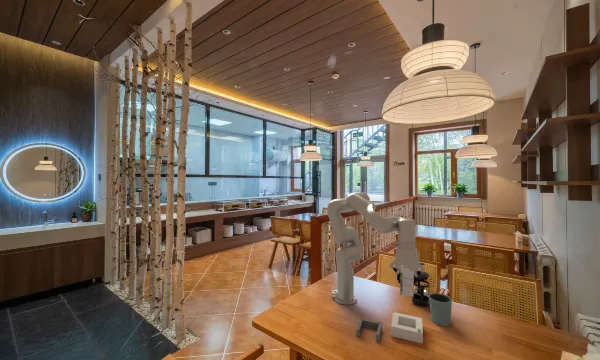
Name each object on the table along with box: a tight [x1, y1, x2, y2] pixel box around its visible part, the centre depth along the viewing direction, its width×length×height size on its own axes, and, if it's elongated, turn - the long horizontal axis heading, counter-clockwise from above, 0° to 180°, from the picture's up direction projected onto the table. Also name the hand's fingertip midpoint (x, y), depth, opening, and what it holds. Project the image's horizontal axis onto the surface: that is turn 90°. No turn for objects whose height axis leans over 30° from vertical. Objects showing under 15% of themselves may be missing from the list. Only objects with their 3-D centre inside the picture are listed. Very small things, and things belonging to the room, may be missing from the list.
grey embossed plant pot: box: [429, 292, 453, 327], centre depth 125 cm, size 10×10×12 cm
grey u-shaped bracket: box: [355, 317, 383, 343], centre depth 116 cm, size 10×10×3 cm
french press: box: [411, 261, 430, 308], centre depth 143 cm, size 12×9×23 cm
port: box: [390, 311, 424, 345], centre depth 116 cm, size 13×13×5 cm
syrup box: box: [399, 265, 415, 298], centre depth 116 cm, size 6×6×14 cm
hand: (406, 282), depth 116 cm, fingers closed on syrup box, 5 cm apart
